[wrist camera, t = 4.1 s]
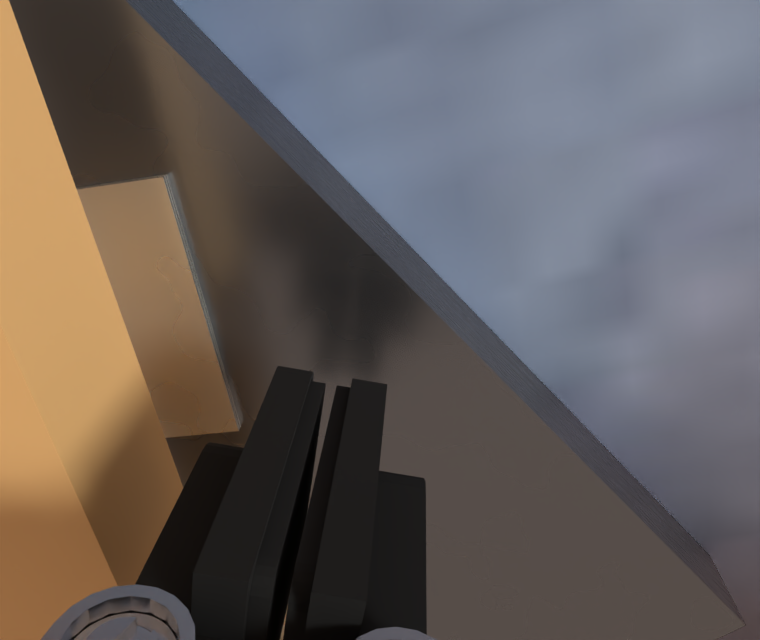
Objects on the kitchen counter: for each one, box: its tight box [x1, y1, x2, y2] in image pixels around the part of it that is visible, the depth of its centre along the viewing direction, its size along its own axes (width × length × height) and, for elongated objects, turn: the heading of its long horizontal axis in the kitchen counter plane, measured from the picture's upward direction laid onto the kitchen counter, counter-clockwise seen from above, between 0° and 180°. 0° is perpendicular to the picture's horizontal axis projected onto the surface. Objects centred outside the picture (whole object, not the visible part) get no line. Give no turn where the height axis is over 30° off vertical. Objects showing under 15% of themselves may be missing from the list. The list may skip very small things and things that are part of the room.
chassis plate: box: [9, 0, 745, 640], centre depth 14 cm, size 22×15×4 cm
